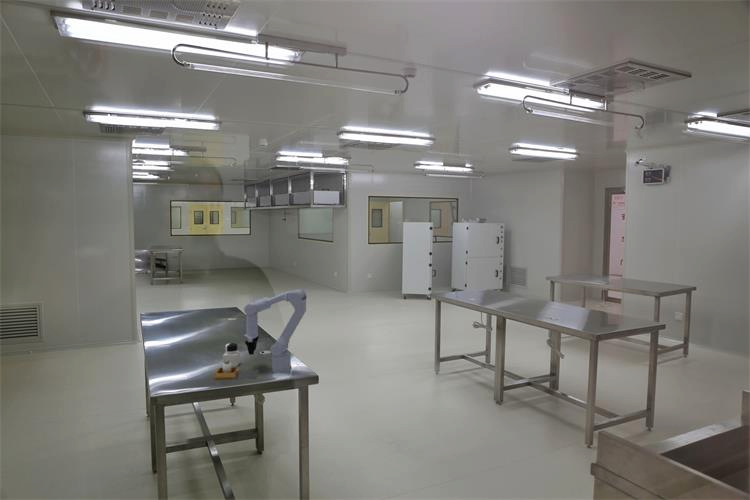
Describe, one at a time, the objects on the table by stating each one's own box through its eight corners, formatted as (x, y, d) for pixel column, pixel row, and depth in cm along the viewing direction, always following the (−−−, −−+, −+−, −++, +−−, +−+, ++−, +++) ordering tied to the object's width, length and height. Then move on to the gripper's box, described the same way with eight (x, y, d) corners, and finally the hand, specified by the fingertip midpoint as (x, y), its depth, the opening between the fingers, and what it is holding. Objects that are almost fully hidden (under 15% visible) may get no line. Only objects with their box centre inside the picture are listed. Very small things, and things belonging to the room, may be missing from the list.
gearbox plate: (259, 372, 246) (259, 365, 246) (256, 380, 233) (256, 373, 233) (219, 373, 244) (219, 366, 244) (213, 382, 231) (213, 374, 231)
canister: (231, 373, 240) (231, 360, 240) (230, 376, 236) (230, 362, 236) (223, 374, 240) (223, 360, 239) (222, 376, 236) (221, 362, 235)
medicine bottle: (240, 364, 259) (239, 342, 259) (236, 368, 252) (236, 345, 252) (226, 364, 259) (226, 342, 258) (222, 368, 252) (222, 345, 251)
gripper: (246, 323, 254) (246, 348, 255) (241, 329, 240) (242, 356, 241) (259, 323, 255) (260, 348, 256) (256, 329, 241) (256, 356, 242)
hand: (252, 352), depth 248 cm, fingers open, 7 cm apart
